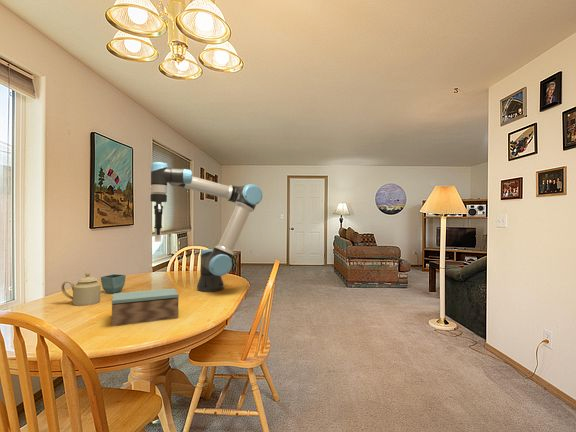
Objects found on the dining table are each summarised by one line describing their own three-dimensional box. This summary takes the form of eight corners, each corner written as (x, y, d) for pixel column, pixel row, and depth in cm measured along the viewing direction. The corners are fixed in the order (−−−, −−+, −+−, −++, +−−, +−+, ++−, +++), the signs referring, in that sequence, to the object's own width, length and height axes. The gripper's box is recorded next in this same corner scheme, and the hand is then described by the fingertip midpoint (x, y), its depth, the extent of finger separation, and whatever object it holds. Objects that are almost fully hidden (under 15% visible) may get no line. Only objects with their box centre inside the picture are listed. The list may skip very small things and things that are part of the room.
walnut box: (173, 308, 140) (174, 291, 140) (178, 317, 127) (178, 298, 127) (113, 315, 129) (113, 296, 129) (111, 326, 116) (111, 305, 116)
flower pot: (99, 293, 164) (100, 276, 164) (113, 289, 173) (113, 273, 173) (112, 295, 162) (113, 277, 162) (126, 291, 170) (126, 275, 170)
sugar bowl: (65, 309, 136) (66, 275, 136) (60, 303, 144) (61, 271, 144) (103, 302, 147) (103, 271, 147) (96, 298, 155) (97, 268, 155)
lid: (174, 291, 140) (174, 288, 140) (178, 297, 127) (178, 294, 127) (113, 296, 129) (113, 293, 129) (111, 303, 116) (112, 300, 117)
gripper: (149, 194, 157) (148, 240, 156) (151, 192, 145) (150, 242, 145) (165, 195, 160) (164, 240, 160) (168, 193, 148) (167, 242, 148)
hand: (157, 241), depth 152 cm, fingers closed
